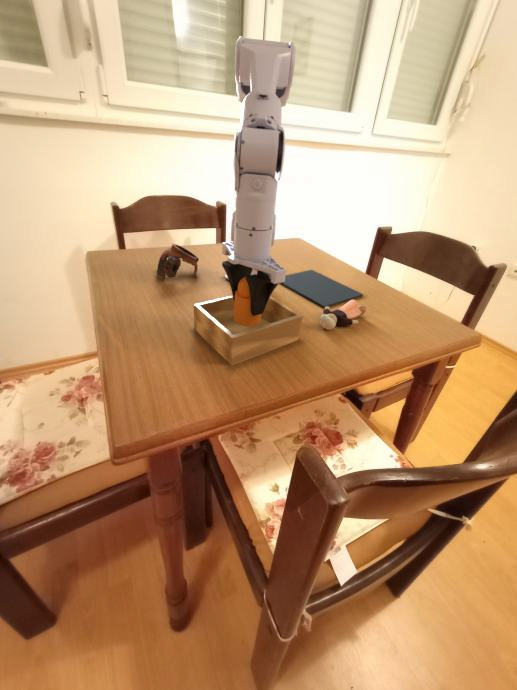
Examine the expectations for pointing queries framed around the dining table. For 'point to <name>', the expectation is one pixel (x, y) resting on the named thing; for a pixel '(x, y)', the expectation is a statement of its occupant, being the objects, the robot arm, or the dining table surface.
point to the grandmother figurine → (342, 315)
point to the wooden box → (245, 328)
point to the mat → (319, 288)
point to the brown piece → (175, 261)
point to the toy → (244, 306)
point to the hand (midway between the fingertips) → (248, 307)
